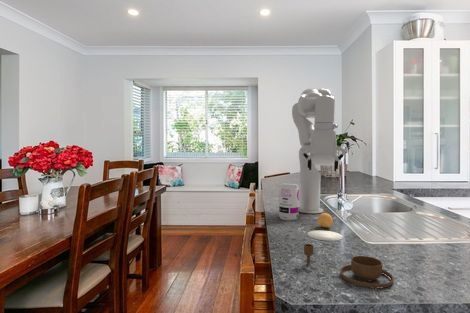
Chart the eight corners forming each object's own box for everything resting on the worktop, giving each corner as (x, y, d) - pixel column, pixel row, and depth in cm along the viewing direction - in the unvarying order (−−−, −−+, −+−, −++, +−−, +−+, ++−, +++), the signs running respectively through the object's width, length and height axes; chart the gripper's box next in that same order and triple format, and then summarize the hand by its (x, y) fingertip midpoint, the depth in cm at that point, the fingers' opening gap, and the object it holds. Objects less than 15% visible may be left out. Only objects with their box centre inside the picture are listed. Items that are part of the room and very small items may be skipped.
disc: (308, 229, 120) (308, 229, 120) (342, 232, 116) (342, 232, 116) (306, 238, 108) (306, 238, 108) (344, 242, 105) (344, 241, 105)
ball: (317, 224, 127) (318, 211, 127) (332, 226, 126) (332, 212, 125) (317, 228, 122) (317, 214, 122) (332, 229, 120) (332, 215, 120)
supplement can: (297, 216, 141) (297, 183, 140) (299, 221, 133) (299, 185, 132) (278, 216, 142) (279, 182, 141) (279, 220, 134) (280, 184, 133)
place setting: (359, 299, 67) (360, 271, 67) (298, 266, 85) (299, 244, 85) (411, 283, 76) (412, 258, 75) (346, 256, 93) (346, 236, 93)
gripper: (346, 127, 128) (345, 170, 129) (302, 127, 133) (301, 168, 134) (347, 127, 121) (345, 172, 122) (300, 127, 126) (299, 170, 127)
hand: (322, 170), depth 128 cm, fingers open, 9 cm apart
